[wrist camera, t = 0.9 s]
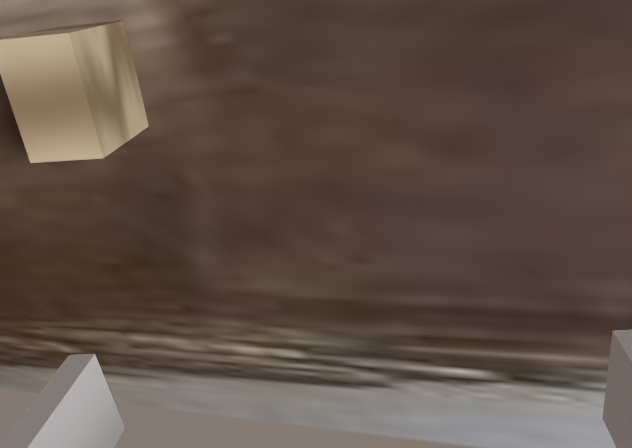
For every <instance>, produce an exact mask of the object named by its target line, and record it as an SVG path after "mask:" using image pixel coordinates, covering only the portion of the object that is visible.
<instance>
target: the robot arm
mask: <svg viewBox="0 0 632 448" xmlns="http://www.w3.org/2000/svg"><path fill="white" fill-rule="evenodd" d="M603 420H604V422H605V424H606V426H607V428H608V431H609V433H610V435H611V437H612V439H613V441H614V443H615V445H616V447H617V448H632V330H616V331H613V332H612V341H611V350H610V358H609V367H608V376H607V385H606V393H605V402H604V411H603ZM123 430H124V425H123V423H122V420H121V418H120V415H119V413H118V410H117V408H116V406H115V403H114V400H113V398H112V395H111V393H110V390H109V388H108V385H107V383H106V380H105V378H104V375H103V373H102V370H101V368H100V365H99V363H98V360H97V358H96V355H95V354H80V355H69V356H68V357H67V359H66V360H65V361H64V362H63V364H62V365H61V366H60V367H59V369H58V370H57V371H56V373H55V374H54V375H53V376H52V378H51V379H50V380H49V382H48V383H47V384H46V385H45V387H44V388H43V389H42V391H41V392H40V393H39V394H38V396H37V397H36V398H35V400H34V401H33V402H32V403H31V405H30V406H29V407H28V409H27V410H26V411H25V412H24V414H23V415H22V416H21V418H20V419H19V420H18V422H17V423H16V424H15V425H14V427H13V428H12V429H11V431H10V432H9V433H8V434H7V436H6V437H5V438H4V439H3V441H2V442H1V443H0V448H114V447H115V445H116V443H117V441H118V439H119V437H120V436H121V434H122V432H123Z"/></svg>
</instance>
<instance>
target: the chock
mask: <svg viewBox="0 0 632 448" xmlns="http://www.w3.org/2000/svg"><path fill="white" fill-rule="evenodd" d="M0 74H1V77H2V80H3V83H4V86H5V89H6V92H7V95H8V98H9V101H10V104H11V107H12V110H13V113H14V116H15V119H16V122H17V125H18V128H19V131H20V134H21V137H22V140H23V143H24V145H25V148H26V151H27V154H28V157H29V160H30V163H39V162H54V161H70V160H85V159H101V158H105V157H106V156H107V155H109V154H110V153H112V152H113V151H115V150H116V149H117V148H119V147H120V146H122V145H123V144H124V143H126V142H127V141H129V140H130V139H132V138H133V137H134V136H136V135H137V134H139V133H140V132H141V131H143V130H144V129H146V128H147V127H148V121H147V117H146V113H145V109H144V104H143V100H142V96H141V92H140V87H139V83H138V79H137V75H136V70H135V66H134V62H133V57H132V53H131V49H130V45H129V40H128V36H127V32H126V28H125V23H124V21H115V22H105V23H95V24H85V25H75V26H65V27H56V28H51V29H46V30H41V31H36V32H31V33H26V34H21V35H16V36H11V37H6V38H1V39H0Z"/></svg>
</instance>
